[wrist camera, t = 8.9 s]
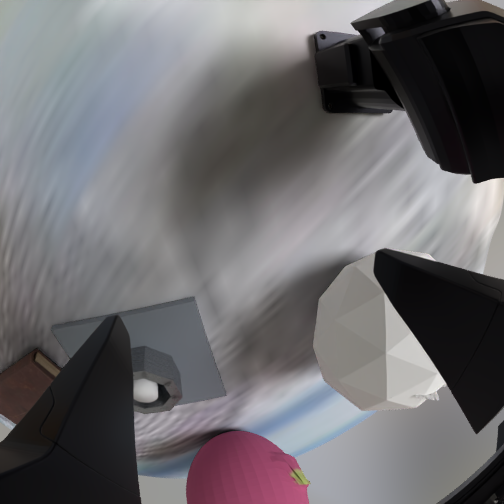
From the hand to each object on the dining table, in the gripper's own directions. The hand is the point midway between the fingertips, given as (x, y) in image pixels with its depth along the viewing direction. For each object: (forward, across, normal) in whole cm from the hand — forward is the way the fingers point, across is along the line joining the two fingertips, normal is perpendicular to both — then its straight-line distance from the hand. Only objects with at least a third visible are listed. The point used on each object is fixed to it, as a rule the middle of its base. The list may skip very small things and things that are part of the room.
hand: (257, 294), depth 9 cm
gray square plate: (+12, +10, +15) cm, 22 cm away
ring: (+11, +10, +15) cm, 21 cm away
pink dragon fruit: (+12, +5, +34) cm, 36 cm away
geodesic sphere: (+12, -12, +12) cm, 21 cm away
